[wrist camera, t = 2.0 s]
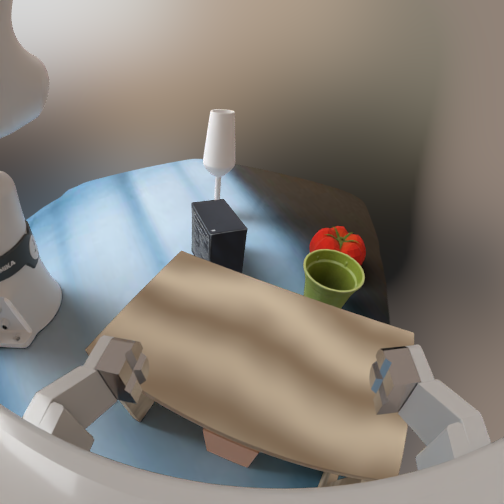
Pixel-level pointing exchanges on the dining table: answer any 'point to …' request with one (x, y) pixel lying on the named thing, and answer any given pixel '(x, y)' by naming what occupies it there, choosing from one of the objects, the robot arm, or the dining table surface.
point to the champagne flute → (220, 145)
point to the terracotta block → (229, 449)
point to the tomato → (339, 242)
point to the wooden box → (265, 368)
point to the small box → (218, 234)
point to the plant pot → (331, 276)
